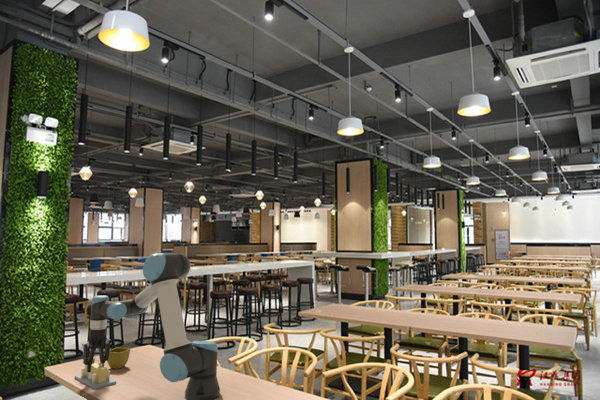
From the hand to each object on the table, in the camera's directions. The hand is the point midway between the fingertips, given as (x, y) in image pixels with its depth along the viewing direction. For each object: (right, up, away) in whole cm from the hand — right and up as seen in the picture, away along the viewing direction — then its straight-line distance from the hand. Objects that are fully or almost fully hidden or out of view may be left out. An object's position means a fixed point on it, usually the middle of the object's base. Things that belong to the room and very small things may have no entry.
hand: (94, 377), depth 199 cm
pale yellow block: (0, 0, 0) cm, 0 cm away
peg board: (0, -2, 0) cm, 2 cm away
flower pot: (+2, -4, +21) cm, 22 cm away
